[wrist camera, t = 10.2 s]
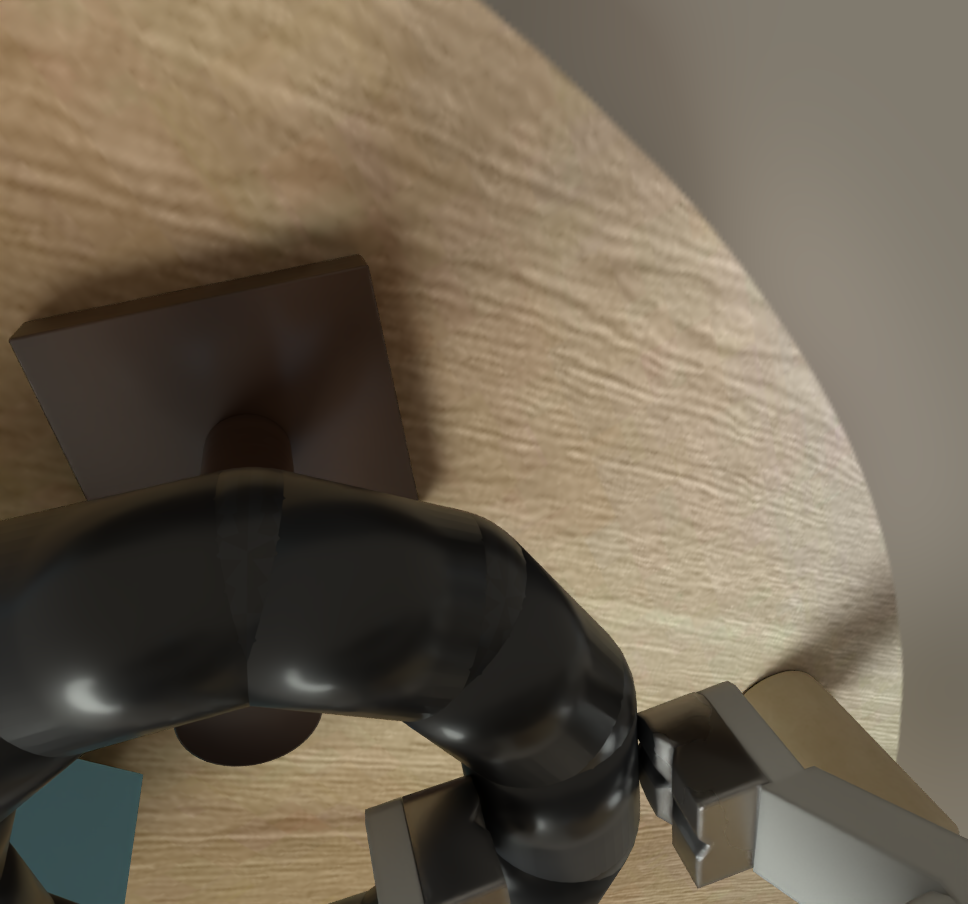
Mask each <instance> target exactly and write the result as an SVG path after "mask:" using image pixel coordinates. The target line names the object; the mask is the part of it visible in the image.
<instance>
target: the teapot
mask: <svg viewBox="0 0 968 904" xmlns="http://www.w3.org/2000/svg"><path fill="white" fill-rule="evenodd" d="M142 779H143V774H140V773H135V772H131V771H127V770H123V769H119V768H114V767H110V766H106V765H102V764H98V763H93V762H89V761H85V760H81V759H76V760H75V761H74V762H73V763H72V764H70V765H69V766H68V767H67V768H66V769H64V770H63V771H62V772H61V773H59V774H58V775H57V776H56V777H55V778H53V779H52V780H51V781H50V782H49V783H47V784H46V785H45V786H44V787H43V788H41V789H40V790H39V791H38V792H36V793H35V794H34V795H33V796H32V797H30V798H29V799H28V800H27V801H26V802H24V803H23V804H22V805H21V806H19V807H18V808H17V809H16V813H15V818H14V823H13V828H12V832H11V837H10V843H11V844H12V846H13V847H14V848H15V850H16V851H17V852H18V854H19V855H20V856H21V858H22V859H23V860H24V862H25V863H26V864H27V866H28V867H29V868H30V870H31V871H32V872H33V874H34V875H35V876H36V878H37V879H38V880H39V882H40V883H41V884H42V886H43V887H44V888H45V889H46V891H47V892H49V893H51V894H54V895H57V896H59V897H62V898H65V899H68V900H70V901H73V902H76V903H79V904H124V903H125V896H126V889H127V882H128V876H129V869H130V862H131V855H132V848H133V841H134V834H135V827H136V821H137V814H138V807H139V800H140V793H141V786H142Z"/></svg>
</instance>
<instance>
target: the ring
mask: <svg viewBox="0 0 968 904" xmlns="http://www.w3.org/2000/svg"><path fill="white" fill-rule="evenodd" d="M249 706H255V707H265V708H275V709H285V710H295V711H305V712H315V713H325V714H335V715H345V716H355V717H365V718H375V719H385V720H395V721H402V722H404V723H405V724H407V725H408V726H409V727H411V728H412V729H414V730H415V731H417V732H418V733H420V734H421V735H422V736H424V737H425V738H427V739H428V740H430V741H431V742H433V743H434V744H435V745H437V746H438V747H440V748H441V749H443V750H444V751H446V752H447V753H449V754H450V755H451V756H453V757H454V758H456V759H457V760H459V761H460V762H461V764H462V769H463V773H464V776H466V775H469V774H470V775H471V777H472V780H473V783H474V785H475V788H476V791H477V794H478V797H479V800H480V805H481V809H482V813H483V818H484V822H485V826H486V830H488V831H489V832H490V834H491V837H492V840H493V843H494V846H495V849H496V852H497V856H498V859H499V862H500V865H501V868H502V871H503V874H504V878H505V881H506V884H507V888H508V893H509V897H510V902H511V904H598V903H599V901H600V900H601V898H602V897H603V895H604V894H605V892H606V891H607V889H608V888H609V886H610V885H611V883H612V882H613V880H614V879H615V877H616V876H617V874H618V873H619V871H620V870H621V868H622V867H623V865H624V863H625V862H626V860H627V858H628V856H629V854H630V852H631V850H632V848H633V846H634V843H635V839H636V836H637V832H638V826H639V821H640V789H639V759H638V730H637V701H636V691H635V686H634V681H633V677H632V673H631V671H630V669H629V666H628V664H627V662H626V659H625V657H624V655H623V653H622V651H621V650H620V648H619V647H618V646H617V644H616V643H615V642H614V640H613V639H612V638H611V637H610V635H609V634H608V633H607V632H606V631H605V630H604V629H603V628H602V627H601V626H600V625H599V624H598V623H597V622H596V621H595V620H594V619H593V618H592V617H591V616H590V615H589V614H588V613H587V612H586V611H585V610H584V609H583V608H582V607H581V606H580V605H579V604H578V603H577V602H576V601H575V600H574V599H573V598H572V597H571V596H570V595H569V594H568V593H567V592H566V591H565V590H564V589H563V588H562V587H561V586H560V585H559V584H558V583H557V582H556V581H555V580H554V579H553V578H552V577H551V576H550V575H549V574H548V573H547V572H546V571H545V570H544V569H543V568H542V567H541V566H540V565H539V563H538V562H537V561H536V560H535V559H534V558H533V557H532V556H531V555H530V554H529V553H528V552H527V551H526V550H525V549H524V548H523V547H522V546H521V545H520V544H519V543H518V542H517V541H516V540H515V539H514V538H513V537H512V536H510V535H509V534H508V533H507V532H506V531H504V530H503V529H502V528H500V527H499V526H497V525H496V524H494V523H493V522H491V521H489V520H487V519H486V518H484V517H481V516H478V515H476V514H473V513H469V512H466V511H462V510H458V509H454V508H449V507H445V506H440V505H436V504H431V503H427V502H423V501H418V500H414V499H409V498H405V497H400V496H396V495H392V494H387V493H383V492H378V491H374V490H369V489H365V488H361V487H356V486H352V485H347V484H343V483H338V482H334V481H329V480H325V479H321V478H316V477H312V476H307V475H303V474H298V473H294V472H290V471H285V470H281V469H275V468H263V467H242V468H231V469H227V470H221V471H216V472H212V473H208V474H203V475H199V476H195V477H190V478H186V479H181V480H177V481H173V482H168V483H164V484H159V485H155V486H151V487H146V488H142V489H137V490H133V491H129V492H124V493H120V494H115V495H111V496H107V497H102V498H98V499H93V500H89V501H85V502H80V503H76V504H71V505H67V506H63V507H58V508H54V509H49V510H45V511H41V512H36V513H32V514H27V515H23V516H19V517H14V518H10V519H5V520H1V521H0V904H79V903H76V902H73V901H70V900H68V899H65V898H62V897H59V896H57V895H54V894H51V893H49V892H47V891H46V889H45V888H44V887H43V886H42V884H41V883H40V882H39V880H38V879H37V878H36V876H35V875H34V874H33V872H32V871H31V870H30V868H29V867H28V866H27V864H26V863H25V862H24V860H23V859H22V858H21V856H20V855H19V854H18V852H17V851H16V850H15V848H14V847H13V846H12V844H11V843H10V837H11V832H12V828H13V823H14V818H15V813H16V809H17V808H18V807H19V806H21V805H22V804H23V803H24V802H26V801H27V800H28V799H29V798H30V797H32V796H33V795H34V794H35V793H36V792H38V791H39V790H40V789H41V788H43V787H44V786H45V785H46V784H47V783H49V782H50V781H51V780H52V779H53V778H55V777H56V776H57V775H58V774H59V773H61V772H62V771H63V770H64V769H66V768H67V767H68V766H69V765H70V764H72V763H73V762H74V761H75V760H76V759H78V758H79V757H80V756H81V755H82V754H84V753H85V752H88V751H91V750H95V749H98V748H102V747H106V746H109V745H113V744H116V743H120V742H123V741H127V740H131V739H134V738H138V737H141V736H145V735H149V734H152V733H156V732H159V731H163V730H166V729H170V728H174V727H177V726H181V725H184V724H188V723H191V722H195V721H199V720H202V719H206V718H209V717H213V716H217V715H220V714H224V713H227V712H231V711H234V710H238V709H242V708H245V707H249ZM329 904H378V898H377V891H376V885H375V886H374V887H373V888H371V889H370V890H369V891H366V892H363V893H360V894H357V895H353V896H350V897H347V898H344V899H341V900H338V901H335V902H332V903H329Z"/></svg>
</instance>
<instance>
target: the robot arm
mask: <svg viewBox="0 0 968 904" xmlns="http://www.w3.org/2000/svg"><path fill="white" fill-rule="evenodd" d="M637 730H638V739H639V741H640V743H639V745H638V759H639V780H640V783H641V786H642V788H643V791H644V793H645V795H646V797H647V800H648V801H649V803H650V805H651V807H652V809H653V811H654V812H655V814H656V816H657V817H659V818H661V819H663V820H664V821H666V822H668V823H670V824H671V825H672V844H673V846H674V848H675V850H676V851H677V853H678V855H679V857H680V858H681V860H682V862H683V864H684V865H685V867H686V869H687V871H688V872H689V874H690V876H691V878H692V879H693V881H694V883H695V885H696V886H697V888H701V887H703V886H706V885H709V884H711V883H714V882H717V881H719V880H722V879H724V878H727V877H730V876H732V875H735V874H738V873H740V872H743V871H745V870H748V869H751V868H753V872H755V873H756V874H758V875H759V876H761V877H762V878H763V879H765V880H766V881H768V882H769V883H771V884H772V885H773V886H775V887H776V888H778V889H779V890H780V891H782V892H783V893H785V894H786V895H788V896H789V897H790V898H792V899H793V900H795V901H796V902H798V903H799V904H968V839H966V838H964V837H962V836H960V835H958V834H956V833H954V832H952V831H950V830H947V829H945V828H943V827H941V826H939V825H937V824H935V823H933V822H931V821H929V820H926V819H924V818H922V817H920V816H918V815H916V814H914V813H912V812H910V811H908V810H906V809H903V808H901V807H899V806H897V805H895V804H893V803H891V802H889V801H887V800H885V799H883V798H880V797H878V796H876V795H874V794H872V793H870V792H868V791H866V790H864V789H862V788H860V787H857V786H855V785H853V784H851V783H849V782H847V781H845V780H843V779H841V778H839V777H837V776H834V775H832V774H830V773H828V772H826V771H824V770H822V769H820V768H818V767H816V766H812V767H809V768H806V769H804V767H803V766H802V765H801V764H800V763H799V761H798V760H797V759H796V758H795V757H794V755H793V754H792V753H791V752H790V751H789V749H788V748H787V747H786V746H785V744H784V743H783V742H782V741H781V740H780V738H779V737H778V736H777V735H776V734H775V732H774V731H773V730H772V729H771V728H770V726H769V725H768V724H767V723H766V722H765V720H764V719H763V718H762V717H761V716H760V714H759V713H758V712H757V711H756V710H755V708H754V707H753V706H752V705H751V704H750V702H749V701H748V700H747V699H746V698H745V696H744V695H743V694H742V693H741V691H740V690H739V689H738V688H737V687H736V685H734V684H732V683H730V682H729V681H726V682H722V683H719V684H717V685H714V686H711V687H709V688H706V689H704V690H701V691H698V692H696V693H695V692H692V693H689V694H687V695H684V696H681V697H679V698H676V699H673V700H671V701H668V702H665V703H663V704H660V705H657V706H655V707H652V708H649V709H647V710H644V711H641V712H639V713H637ZM365 824H366V830H367V837H368V843H369V849H370V855H371V861H372V867H373V873H374V879H375V885H376V891H377V898H378V904H511V902H510V897H509V893H508V888H507V884H506V881H505V878H504V874H503V871H502V868H501V865H500V862H499V859H498V856H497V852H496V849H495V846H494V843H493V840H492V837H491V834H490V832H489V831H488V830H486V826H485V822H484V818H483V813H482V809H481V805H480V800H479V797H478V794H477V791H476V788H475V785H474V783H473V780H472V777H471V775H470V774H469V775H466V776H463V777H460V778H457V779H454V780H451V781H448V782H445V783H442V784H439V785H436V786H433V787H430V788H427V789H424V790H421V791H418V792H415V793H412V794H409V795H406V796H403V797H402V798H401V797H399V798H397V799H394V800H391V801H388V802H385V803H382V804H380V805H377V806H374V807H371V808H368V809H366V810H365Z"/></svg>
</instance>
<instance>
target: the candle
mask: <svg viewBox="0 0 968 904" xmlns="http://www.w3.org/2000/svg"><path fill="white" fill-rule="evenodd" d="M744 696H745V698H746V699H747V700H748V701H749V702H750V704H751V705H752V706H753V707H754V708H755V710H756V711H757V712H758V713H759V714H760V716H761V717H762V718H763V719H764V720H765V722H766V723H767V724H768V725H769V726H770V728H771V729H772V730H773V731H774V732H775V734H776V735H777V736H778V737H779V738H780V740H781V741H782V742H783V743H784V744H785V746H786V747H787V748H788V749H789V751H790V752H791V753H792V754H793V755H794V757H795V758H796V759H797V760H798V761H799V763H800V764H801V765H802V766H803V767H804V769H806V768H809V767H812V766H816V767H818V768H820V769H822V770H824V771H826V772H828V773H830V774H832V775H834V776H837V777H839V778H841V779H843V780H845V781H847V782H849V783H851V784H853V785H855V786H857V787H860V788H862V789H864V790H866V791H868V792H870V793H872V794H874V795H876V796H878V797H880V798H883V799H885V800H887V801H889V802H891V803H893V804H895V805H897V806H899V807H901V808H903V809H906V810H908V811H910V812H912V813H914V814H916V815H918V816H920V817H922V818H924V819H926V820H929V821H931V822H933V823H935V824H937V825H939V826H941V827H943V828H945V829H947V830H950V831H952V832H954V833H956V834H958V835H959V830H958V828H957V826H956V824H955V823H954V822H953V821H952V820H951V819H950V818H949V817H948V816H947V815H946V814H945V813H944V812H943V811H942V810H941V809H940V808H939V807H938V806H937V805H936V803H935V802H933V800H932V799H931V798H930V797H929V796H928V795H927V794H926V793H925V792H924V791H923V790H922V789H921V788H920V787H919V786H918V785H917V784H916V783H915V782H914V781H913V780H912V779H911V777H910V776H909V775H908V774H907V773H906V772H905V771H904V770H903V769H902V768H901V767H900V766H899V765H898V764H897V763H896V762H895V761H894V760H893V759H892V758H891V757H890V756H889V755H888V754H887V753H886V751H885V750H884V749H883V748H882V747H881V746H880V745H879V744H878V743H877V742H876V741H875V740H874V739H873V738H872V737H871V736H870V735H869V734H868V733H867V732H866V731H865V730H864V729H863V728H862V727H861V725H860V724H859V723H858V722H857V721H856V720H855V719H854V718H853V717H852V716H851V715H850V714H849V713H848V712H847V711H846V710H845V709H844V708H843V707H842V706H841V705H840V704H839V703H838V702H837V701H836V699H835V698H834V697H833V696H832V695H831V694H830V693H829V692H828V691H827V690H826V689H825V688H824V687H823V686H822V685H821V684H820V683H819V682H818V681H817V680H816V679H814V678H813V677H812V676H810V675H809V674H807V673H804V672H801V671H786V672H782V673H778V674H775V675H773V676H770V677H768V678H766V679H764V680H762V681H761V682H759V683H758V684H756V685H755V686H753V687H752V688H751V689H749V690H748V691H747V692H746V693H745V694H744Z"/></svg>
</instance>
